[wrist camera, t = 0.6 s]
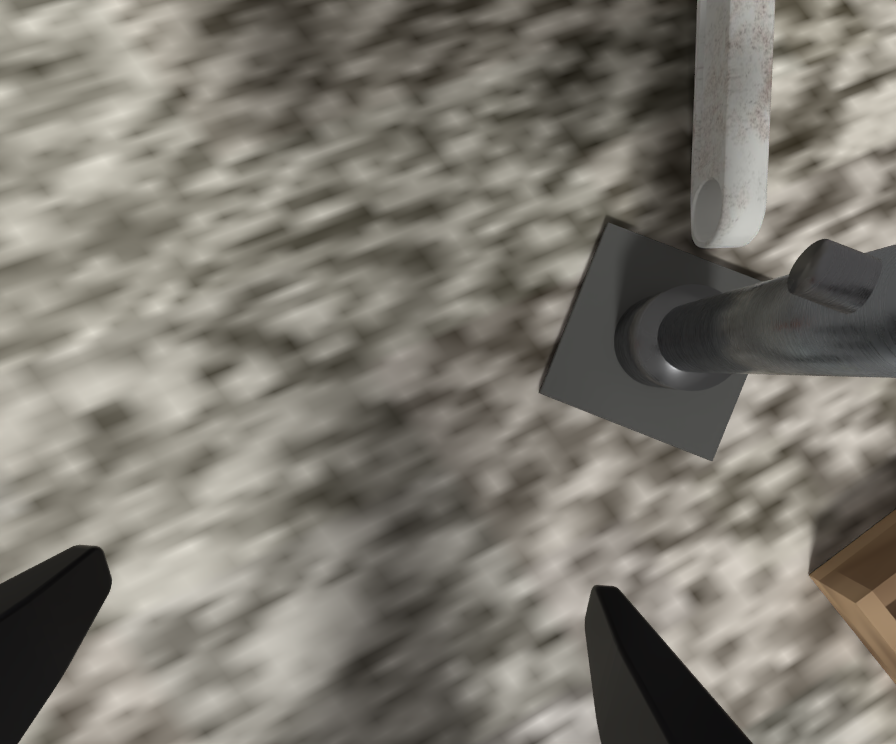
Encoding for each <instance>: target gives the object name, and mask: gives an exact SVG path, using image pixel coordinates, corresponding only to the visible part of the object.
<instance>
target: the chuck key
mask: <svg viewBox="0 0 896 744" xmlns="http://www.w3.org/2000/svg"><path fill="white" fill-rule="evenodd" d="M614 349H615V354H616V357H617V359H618V362H619V364H620V365H621V367H622V368H623V370H624V371H625V372H626V373H627V374H628V375H629V376H630V377H631V378H632V379H634V380H635V381H637V382H639V383H641V384H643V385H646V386H650V387H655V388H665V389H674V390H683V391H701V390H705V389H709V388H712V387H714V386H716V385H718V384H720V383H722V382H723V381H725V380H726V379H727V378H728V377H730V376H731V375H732V374H772V375H812V376H851V377H891V378H896V245H892V246H888V247H885V248H881V249H878V250H874V251H871V252H867V253H862V252H860V251H857V250H855V249H852V248H849V247H847V246H844V245H842V244H839V243H836V242H834V241H831V240H829V239H822V240H819V241H817V242H815V243H813V244H812V245H810V246H809V247H808V248H807V249H806V250H805V251H804V252H803V253H802V254H801V255H800V256H799V258H798V259H797V261H796V262H795V264H794V265H793V267H792V269H791V271H790V274H789V275H785V276H782V277H778V278H775V279H771V280H768V281H764V282H760V283H757V284H753V285H750V286H746V287H743V288H739V289H736V290H732V291H728V292H725V293H722V292H720V291H718V290H716V289H714V288H712V287H709V286H705V285H699V284H688V285H681V286H677V287H674V288H672V289H669V290H666V291H664V292H661V293H658V294H656V295H653V296H650V297H647V298H645V299H642V300H640V301H638V302H636V303H635V304H633V305H632V306H631V307H630V308H629V309H627V311H626V312H625V313H624V314H623V315H622V317H621V318H620V320H619V322H618V324H617V327H616V330H615V335H614Z"/></svg>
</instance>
